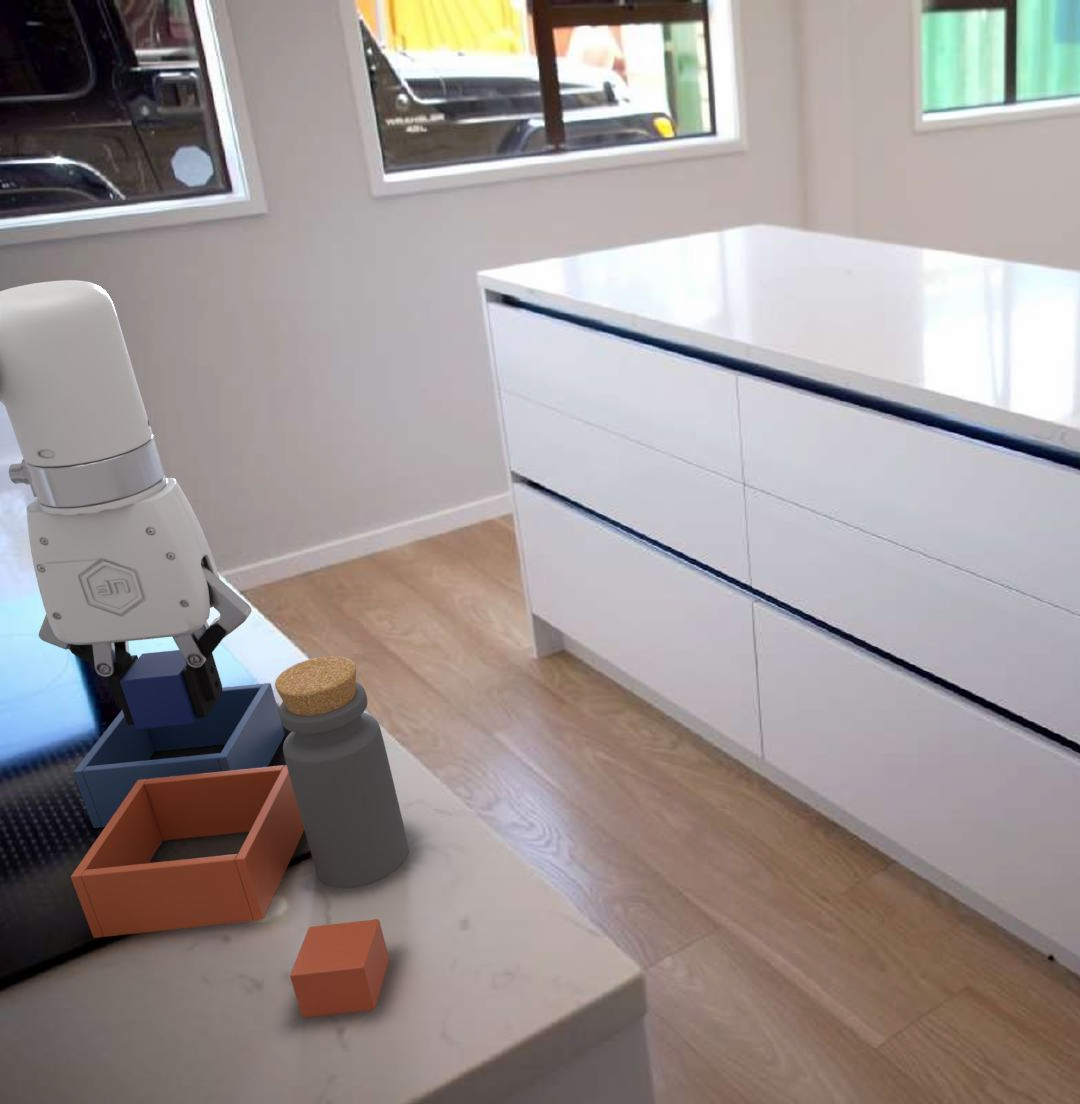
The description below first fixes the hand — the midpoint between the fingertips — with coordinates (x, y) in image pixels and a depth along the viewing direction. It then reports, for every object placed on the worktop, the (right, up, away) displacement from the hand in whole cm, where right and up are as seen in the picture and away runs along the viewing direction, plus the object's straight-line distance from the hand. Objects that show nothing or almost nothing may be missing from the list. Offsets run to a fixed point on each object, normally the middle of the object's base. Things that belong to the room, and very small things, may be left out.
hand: (174, 708), depth 90 cm
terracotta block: (+19, -15, -18) cm, 30 cm away
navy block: (0, 0, 0) cm, 0 cm away
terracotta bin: (+6, -11, -8) cm, 15 cm away
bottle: (+16, -10, -7) cm, 20 cm away
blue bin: (0, -6, +3) cm, 7 cm away
